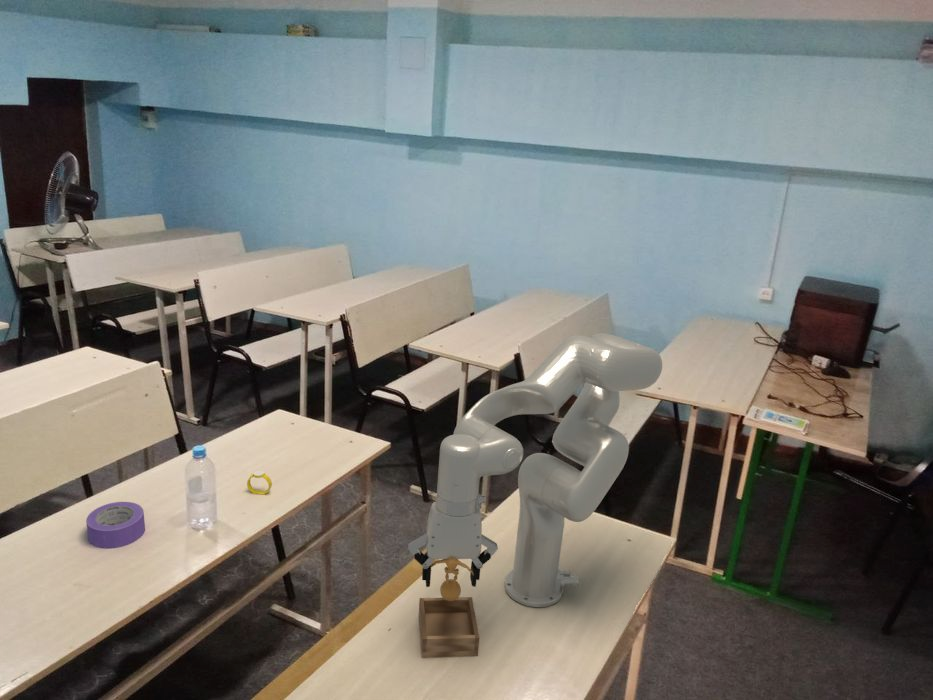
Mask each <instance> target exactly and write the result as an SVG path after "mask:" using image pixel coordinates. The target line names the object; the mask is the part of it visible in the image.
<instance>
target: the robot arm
mask: <svg viewBox="0 0 933 700" xmlns="http://www.w3.org/2000/svg"><path fill="white" fill-rule="evenodd" d="M662 371H663V360H662V357H661V354H660V353H659V352H658V351H657V350H655V349H653V348H651V347H649V346H645V345H643V344H640V343H639V342H635V341H632V340H629V339H626V338H623V337H620V336H617V335H614V334H612V333H611V334H610V333H604V332H601V333H600V332H597V333H595V334H594V335H591V337H590V336H585V335H581V334H574V335H571V336H568V337H566V338H565V339H564V340H563V341H562V342H561V343H560V344H559V345H558V346H557V347H556V348H555V349H554V350H553V351H552V352H551V353H550V355H549V356H547V357H546V359H544V361H543V362H541V364H539V366H537V368H536V369H535V370H534V371H533V372H532V373H531V374H530V375H529V376H528V377H527V378H526V379H524V380H523V381H519V382H516V383H513V384H509V385H506V386H505V387H501V388H500V389H497V390H495V391H492V392H490V393H488V394H487V395H485V396H483V397H482V398H480V399H479V400H478V401H477V402H475V404H474V405H472V407H471V408H470V409H469V410H468V411H467V412H466V413H465V414H464V415H463V416H462V418H460V420H459V421H458V423H457V425H456V426H455V428H454V431H453V434H451V435H448V436H446V437H445V438H444V439H443V440H442V441H441V443H440V448H439V457H438V459H439V460H438V473H437V484H436V485H437V487H436V488H437V489H436V498H435V500H436V501H433V502H432V504H431V506H430V509H429V513H428V517H427V523H426V531H425V532H426V533H425V534H423V535H421V536H419V537H417V538H416V539H414V540H413V541H410V542H409V543H408V545H407V546H408V547H407V548H408V551H409V553H410V554H411V556H413V558H414V560H415V561H416V562H418V564H419V565H421V567H422V570H421V571H422V573H421V579H422V581H425V587H426V588H429V587H430V586H431V580H432V579H431V577H432V567H431V565H432V564H433V563H434V562H435V560H443V559H450V558H455V559H458V560H471V562H470V563H471V564H470V569H471V570H472V571H473V574H472V573H471V572H470V575H469V578H470V583H471V587H473V588H474V587H476V586H477V581H479V580H480V577H481V576H480V575H481V569H482V568H483V567H484V564H486V563H488V561H490V560H491V559H492V556H493V555H494V554H495V553H496V552H497V550H498V549H499V546H498V542H495V541H494V540H492V539H490V538H489V537H487V536H485V535H484V534H482V532H483V530H482V528H483V527H482V526H483V525H482V511H481V506H480V504H481V505H482V504H486V501H487V498H486V497H487V496H486V495H482V494H480V493H479V490H480V480H481V477H485V476H488V477H489V476H499V475H504V474H508V473H510V472H512V471H513V470H514V471H515V469H517V467H518V466H519V471H518V475H517V484H518V494H519V515H518V523H517V531H516V542H515V552H514V560H513V570H511V571H509V573H508V574H507V575H506V576H505V578H504V579H505V580H504V589H505V591H506V593H507V595H508V596H509V597H511V599H512V600H514V601H516V602H517V603H519V604H522V605H523V606H527V607H531V608H544V607H545V608H546V607H550V606H553V605H555V604H556V603H558V602H559V601H560V600H561V598H562V596H563V592H564V587H565V586H579V585H580V578H579V576H578V575H571V571H570V569H569V570H567V569H566V570H560V569H559V566H560V559H561V552H562V543H563V535H564V529H565V519H567V520H568V521H571V522H575V523H580V522H584V521H585V520H587V519H589V518H590V517H591V516H592V515H593V513H594V512H595V511H596V509H597V508H598V506H599V505H600V504H601V502H602V500H603V499H604V498H605V496H606V495H607V493H608V492H609V490H610V489H611V487H612V485H613V484H614V482H615V481H616V479H617V478H618V477H619V475H620V474H621V472H622V470H623V469H624V466H625V464H626V462H627V459H628V456H629V451H630V445H629V442H628V439H627V437H626V436H625V435H624V434H623V433H622V432H620V431H619V430H617V429H615V428H613V427H610V424H611V422H612V421H613V419H614V417H615V416H616V414H617V413H618V411H619V407H620V402H621V401H620V400H621V399H620V393H619V392H627V391H628V392H629V391H639V390H645V389H648V388H650V387H651V386H652V385H654V384H655V383H656V382H657V381H658V379H659V378H660V376H661V374H662ZM582 385H583V387H582V390H581V391H580V394H579V395H578V397H577V398H576V400H575V401H574V403H573V404H572V406H571V407H570V408H569V410H568V411H567V412H566V414H565V415H564V417H563V419H561V421H560V423H559V424H558V425H557V427H556V429H555V431H554V433H553V436H552V439H551V440H552V445H553V447H554V449H555V450H556V451H557V452H558V453H560V454H561V455H563V456H564V457H566V458H568V459H569V460H571V461H573V462H575V463H577V464H579V465H581V466H583V469H582V470H579V469H578V468H576V467H574V466H573V465H572V464H569V463H567V462H565V461H563V460H562V459H559V458H557V457H556V456H554V455H552V454H549V453H545V452H534V453H532V454H530V455H528V456H527V457H526V458H525V459H524V460H523V458H524V448H523V445H522V443H521V442H520V441H519V440H518V438H517V437H515V436H514V435H512V434H510V433H508V432H506V431H504V430H502V429H501V428H499V427H497V426H496V425H497V424H498V423H500V422H501V421H504V419H507V418H511V417H513V416H518V415H546V414H547V415H548V414H554V413H557V411H559V410H560V409H561V408H562V407H563V406H564V404H566V403H567V401H568V400H569V399H570V398H571V397H572V396H573V395H574V394H575V392H576V391H577V390H578V389H579V388H580V387H581V386H582ZM521 462H522V463H521ZM520 464H521V465H520ZM423 546H426V550H425V552H424V553H423V552H422V551H421V550H419V548H421V547H423ZM482 546H484V547H486V549H485V550H484V551H482Z"/></svg>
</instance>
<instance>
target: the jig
mask: <svg viewBox="0 0 933 700" xmlns="http://www.w3.org/2000/svg"><path fill="white" fill-rule="evenodd" d="M418 607H419V608H418V624H419V625H418V626H419V641H420V653H421V658H422V659H423V658H448V657H449V658H452V657H453V658H454V657H459V658H460V657H478V656H479V647H480V634H479V628H478V623H477V618H476V612H475V606H474V600H473V597H472V596H468V597H467V596H463V597H461V596H459V597H458V598H457V599H456V600H454V601H447V600H445V599H444V598H443V597H419V602H418Z"/></svg>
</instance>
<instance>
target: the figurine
mask: <svg viewBox="0 0 933 700" xmlns="http://www.w3.org/2000/svg"><path fill="white" fill-rule="evenodd" d="M437 564H446V566H445V567H444V573H445V575H444V576H445V580H444V581H443V582H442V583H441V585H440V588H439V591H440V595H441V598H444V599H445V600H447V601H454V600H456V599H457V598H458V597H460V596H461V593H462V591H461V590H462V589H461V585H460V583H459V582H458V581H457V580H458V575H459V572H460V569H459V568H457V567H458V566H461V567H463V568H465V569H467V571H468V572H470V573H472V574H473V571H472V570H471V567H469V566H468V565H467V564H465V563H463V562H462V561H461V560H460V559H455V558H450V559H437V560H436V561H435V560H434V561H433V563H432V564H431V568H433V567H434V566H435V565H437ZM449 574H453V575H454V576H453V579H452V578H450V577H449ZM449 578H450V579H449Z"/></svg>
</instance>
